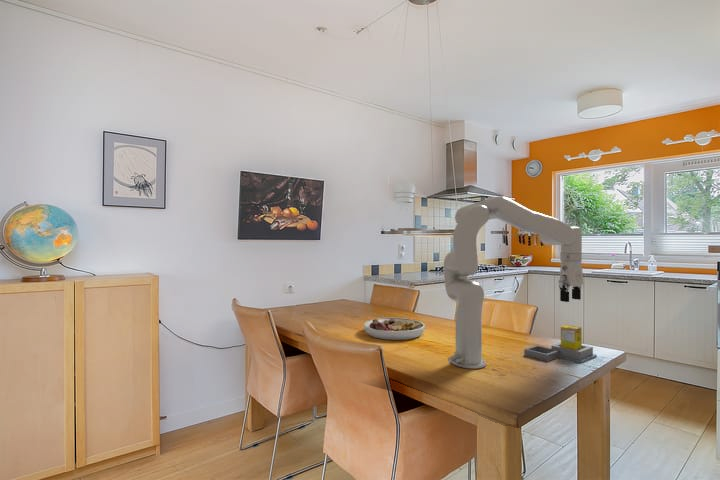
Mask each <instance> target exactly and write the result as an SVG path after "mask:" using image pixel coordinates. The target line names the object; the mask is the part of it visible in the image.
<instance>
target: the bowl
mask: <svg viewBox="0 0 720 480" xmlns="http://www.w3.org/2000/svg"><path fill="white" fill-rule="evenodd" d="M425 328H426V327H425V323H423V322H422V321H419V320H416V319H411V318H405V317H379V318H373V319H370V320H367V321H365V322H364V324H363V329H364V331H365V333H366V334H367V335H368V336H370V337H373V338H376V339H379V340H385V341H386V340H387V341H406V340H412V339H416V338H418V337H420V336H421V335H422V334H423V333H424V331H425Z"/></svg>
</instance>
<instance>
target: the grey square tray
mask: <svg viewBox="0 0 720 480" xmlns="http://www.w3.org/2000/svg"><path fill="white" fill-rule="evenodd" d="M523 354H524V356H525V357H529V358H533V359H537V360H541V361H544V362H550V361H553V360H556V359H558V358H559V355H560V351H559V350H555V349H551V347H547V346H546V347H545V346H542V345H538V344H537V345H533V346H530V347H527V348H524V349H523Z"/></svg>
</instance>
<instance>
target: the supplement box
mask: <svg viewBox="0 0 720 480" xmlns="http://www.w3.org/2000/svg"><path fill="white" fill-rule="evenodd" d="M582 338H583V337H582V326H576V325H571V324H565V325H562V326H560V343H561V347H565V348H569V349H574V350H580V349H582V345H583V344H582V343H583V342H582Z"/></svg>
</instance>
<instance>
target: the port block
mask: <svg viewBox="0 0 720 480" xmlns="http://www.w3.org/2000/svg"><path fill="white" fill-rule="evenodd" d="M550 346H551V347H550V348H551V349H555V350H559V351H560V355H559V357H558V358H560V359H564V360H568V361H571V362H576V363H578V364H579V363H580V364H583V363H585V362H587V361H590V360H593V359H595V358H597V355H598V354H596V353H595V354H594V346H589V345H584V344H582V349H580V350H574V349H569V348H565V347H561V342H557V343H555V344H552V345H550Z"/></svg>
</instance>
